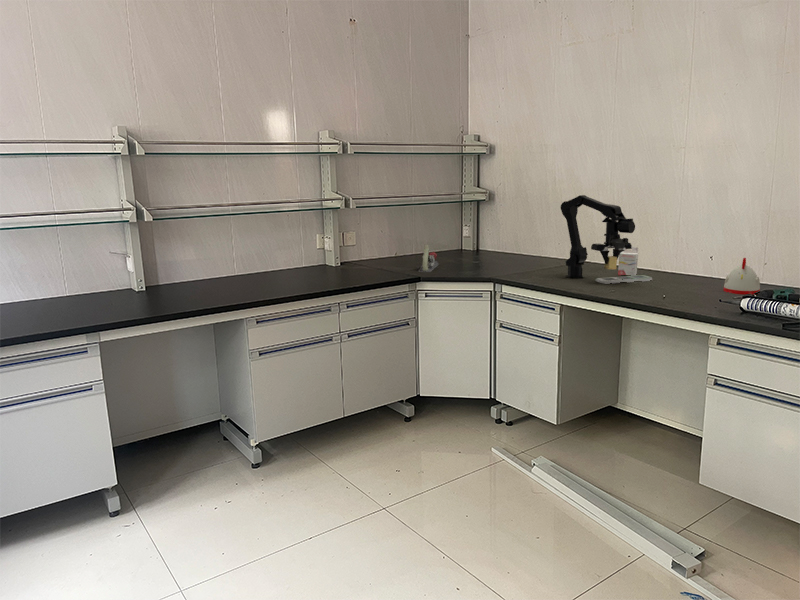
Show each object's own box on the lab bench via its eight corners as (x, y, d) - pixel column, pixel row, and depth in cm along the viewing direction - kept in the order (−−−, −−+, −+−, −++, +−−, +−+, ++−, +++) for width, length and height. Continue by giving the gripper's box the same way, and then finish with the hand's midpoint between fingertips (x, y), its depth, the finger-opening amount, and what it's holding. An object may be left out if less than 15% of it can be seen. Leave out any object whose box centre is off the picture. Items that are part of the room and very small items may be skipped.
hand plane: (418, 272, 334) (417, 246, 331) (427, 264, 363) (427, 240, 360) (430, 272, 332) (430, 246, 329) (439, 264, 362) (439, 240, 359)
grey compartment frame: (604, 283, 286) (604, 280, 286) (595, 281, 294) (595, 277, 294) (652, 280, 292) (652, 277, 291) (642, 278, 299) (642, 274, 299)
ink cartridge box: (617, 275, 309) (619, 247, 306) (619, 274, 313) (621, 246, 310) (634, 276, 304) (636, 248, 301) (636, 275, 308) (638, 247, 305)
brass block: (608, 269, 287) (609, 257, 286) (604, 268, 291) (604, 256, 290) (616, 269, 288) (616, 256, 287) (611, 267, 292) (612, 255, 291)
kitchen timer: (721, 292, 261) (725, 259, 257) (725, 287, 272) (728, 255, 269) (758, 295, 253) (762, 261, 250) (760, 290, 264) (764, 256, 261)
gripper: (603, 234, 276) (602, 267, 280) (639, 232, 280) (637, 265, 283) (591, 232, 287) (589, 264, 290) (625, 230, 291) (623, 262, 294)
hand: (610, 263), depth 289 cm, fingers closed on brass block, 4 cm apart
